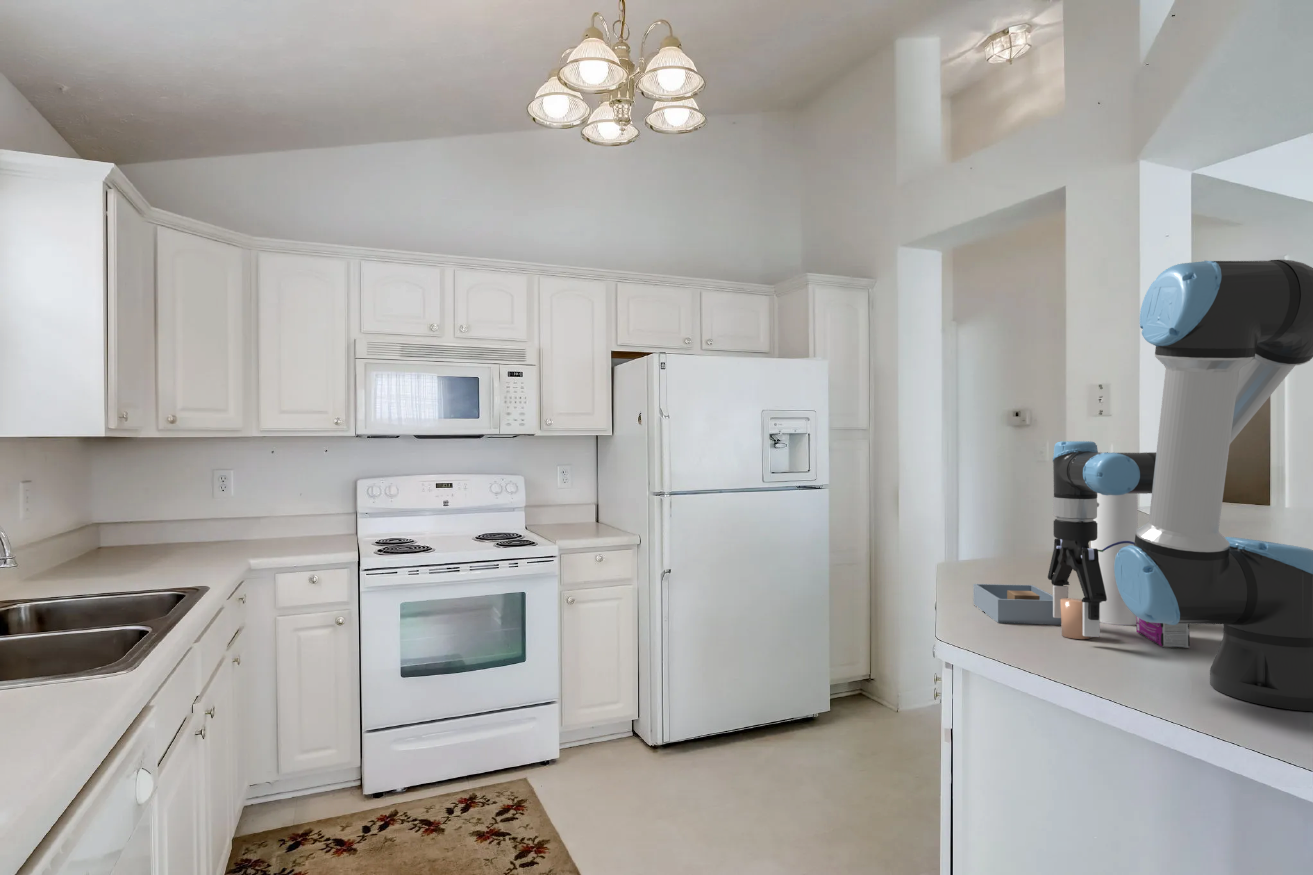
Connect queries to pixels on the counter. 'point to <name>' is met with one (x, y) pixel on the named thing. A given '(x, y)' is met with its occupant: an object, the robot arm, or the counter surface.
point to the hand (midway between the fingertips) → (1075, 626)
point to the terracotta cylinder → (1072, 618)
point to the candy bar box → (1165, 633)
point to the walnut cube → (1022, 595)
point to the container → (1114, 550)
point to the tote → (1014, 604)
